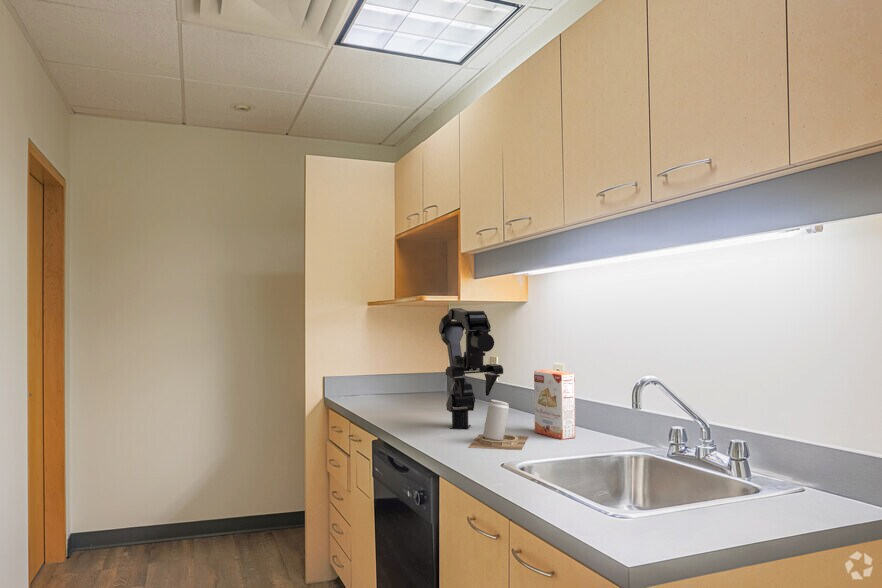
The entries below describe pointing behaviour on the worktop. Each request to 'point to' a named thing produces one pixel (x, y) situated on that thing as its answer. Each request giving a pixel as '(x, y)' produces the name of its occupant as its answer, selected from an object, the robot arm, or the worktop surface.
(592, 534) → the worktop surface
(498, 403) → the beverage can
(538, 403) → the cracker box
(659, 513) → the worktop surface
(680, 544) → the worktop surface
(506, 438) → the can holder
